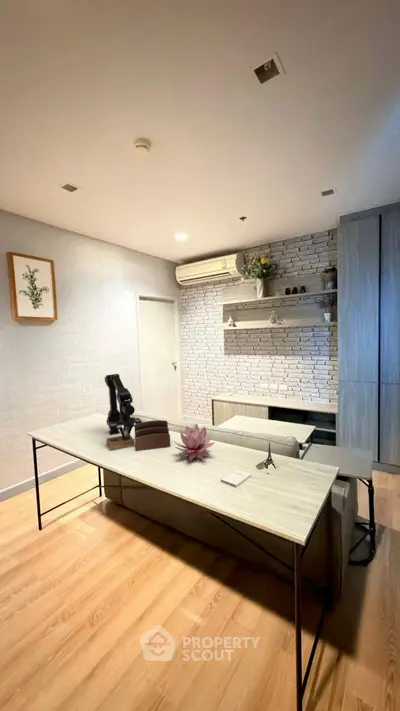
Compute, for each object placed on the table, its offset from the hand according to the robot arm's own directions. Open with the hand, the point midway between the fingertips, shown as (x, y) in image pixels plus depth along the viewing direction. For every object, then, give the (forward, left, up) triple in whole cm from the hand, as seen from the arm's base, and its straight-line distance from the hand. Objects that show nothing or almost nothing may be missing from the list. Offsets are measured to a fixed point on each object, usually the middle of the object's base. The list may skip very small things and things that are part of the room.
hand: (126, 437), depth 179 cm
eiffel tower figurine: (+67, +54, -5) cm, 86 cm away
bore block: (0, -3, -4) cm, 5 cm away
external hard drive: (+70, +33, -5) cm, 77 cm away
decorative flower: (+38, +28, -4) cm, 47 cm away
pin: (0, 0, -2) cm, 2 cm away
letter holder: (+12, +13, -5) cm, 18 cm away
